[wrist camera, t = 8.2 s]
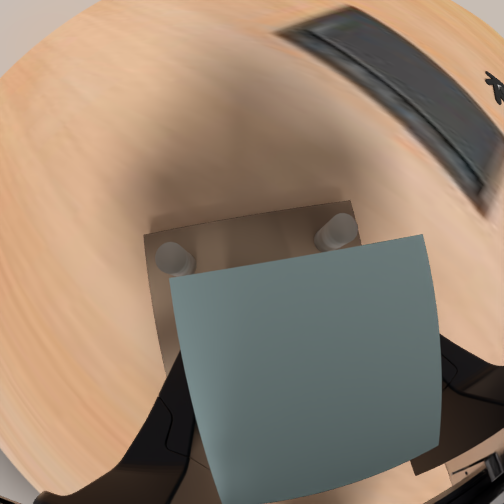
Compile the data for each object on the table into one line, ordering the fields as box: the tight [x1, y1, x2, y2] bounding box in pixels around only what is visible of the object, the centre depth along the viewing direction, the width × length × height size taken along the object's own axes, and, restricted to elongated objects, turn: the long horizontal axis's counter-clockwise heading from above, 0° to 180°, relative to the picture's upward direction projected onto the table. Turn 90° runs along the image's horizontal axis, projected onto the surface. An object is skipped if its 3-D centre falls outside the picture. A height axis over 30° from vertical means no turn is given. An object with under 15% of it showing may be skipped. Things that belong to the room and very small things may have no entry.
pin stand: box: [144, 201, 362, 376], centre depth 16 cm, size 14×14×5 cm
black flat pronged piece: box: [485, 71, 504, 105], centre depth 24 cm, size 9×8×1 cm
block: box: [169, 234, 442, 504], centre depth 10 cm, size 4×4×13 cm
